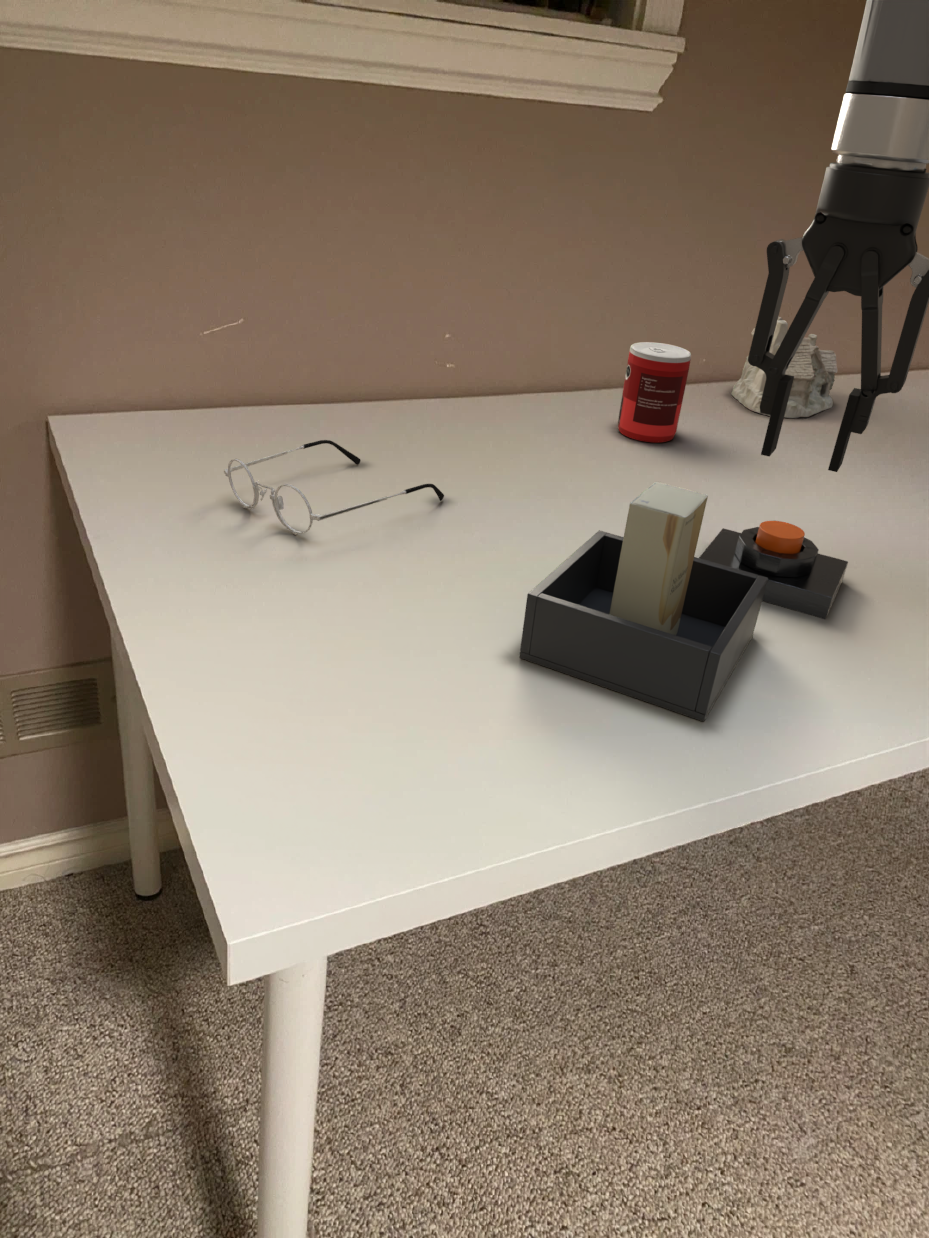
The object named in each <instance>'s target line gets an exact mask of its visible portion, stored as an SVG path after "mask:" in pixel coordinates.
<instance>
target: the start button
mask: <svg viewBox="0 0 929 1238" xmlns="http://www.w3.org/2000/svg"><path fill="white" fill-rule="evenodd" d="M758 527H759V530H758V534H757V537H756V541H755V543H756V544H757V545H759V546H761V547H762V548H764V549H766V550H770V551H774V552H778V553H785V554H795V553H799V552H800V550H801V546H802V543H803V539H804V537H805V536H806V533H805V531H804V529H802V528H801V527H799V526H797V525H795V524H792V523H789V522H785V521H781V520H765V521H762V522H761V523H759V526H758Z"/></svg>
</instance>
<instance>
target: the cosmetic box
mask: <svg viewBox="0 0 929 1238" xmlns="http://www.w3.org/2000/svg"><path fill="white" fill-rule="evenodd" d="M708 497H709V495H708V494H707V493H702V492H698V491H695V490H691V489H687V488H684V487H679V486H676V485H672V484H668V483H665V482H661V481H655V482H653V483H652V484H651V485H650V486H649V487H647V488H646V489H645V490H643V491H642V492H641V493H640V494H639V495H638V496H636V497H635V498H634V499H633V500H632V501H630V502H629V507H628V512H627V516H626V522H625V528H624V533H623V537H624V538H623V543H622V549H621V554H620V559H619V565H618V571H617V576H616V581H615V587H614V592H613V597H612V603H611V608H610V615H613V616H616V617H619V618H622V619H625V620H629V621H632V622H635V623H638V624H641V625H644V626H648V627H651V628H654V629H657V630H660V631H663V632H667V633H670V634H673V635H676V634H677V632H678V627H679V623H680V618H681V614H682V609H683V605H684V600H685V595H686V591H687V587H688V582H689V578H690V573H691V569H692V564H693V560H694V557H696V550H697V547H698V541H699V537H700V533H701V529H702V525H703V521H704V515H705V510H706V507H707V503H708Z"/></svg>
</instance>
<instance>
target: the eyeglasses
mask: <svg viewBox="0 0 929 1238" xmlns="http://www.w3.org/2000/svg"><path fill="white" fill-rule="evenodd" d="M322 444H323V445H324V444H326V445H327V444H328V445H331V446H333V447H334V448H336V450H338V451H339V452H340V453H342V454H343V455H344V456H345V457H346V458H348V459H349V460H350V461H351V462H352V463H354V464H355V465H360V463H361V458H360V457H358V456H356V455H355V454H353V453H352V452H350V451H349V450H347V449H345V448H344V447H343V446H341V445H340V444H338V443H336V442H334V441H333V440H329V439H320V440H316V441H313V442H308V443H305V444H302V445H300V446H299V447H296V448H294V449H290V450H285V451H281V452H278V453H275V454H271V455H268V456H265V457H261V458H258V459H255V460H252V461H249V462H245V463H244V462H243V460H241V459H239V458H234V459H231V460H230V461H229V463H228V465H227V468H225V469H223V474H225V476H226V477H228V481H229V485H230V487H231V490H232V492H233V495H234V496H235V498H236V499H237V500H238V501H239V503H240V504H241V505H242V508H243V509H247V510H254V509H256V508H257V506H258V504H259V500H260V502H262V501H263V500H264V497H265V495H266V493H267V490H270V494H269V499H270V500H271V505H272V507H273V510H274V512H275V515H276V517H277V519H278V520H279V521H280V523H281V524H282V526H283V527H284V528H285V529H286V530H288V531H289V532H291V533H292V534H293V535H295V536H298V535H299V534H300V535H302V534H306V533H308V532H309V531H310V530H311V529H312V526H313V524H314V523H313V522H314V521H318V522H319V521H323V520H327V519H329V518H330V519H331V518H333V517H335V516H336V517H337V516H339V515H342V514H345V513H348V512H352V511H356V510H358V509H361V508H365V507H368V506H371V505H374V504H377V503H378V504H379V503H381V502H383V501H387V500H388V499H391V498H393V497H394V498H395V497H397V496H400V495H401V496H402V495H408V494H411V493H414V492H417V491H420V490H423V489H427V488H430V489H433V492H434V493H435V494H436V496H437V498H438V500H439V501H440V502H442V501H443V499H444V498H445V494H444V493H443V492H442V491H441V490H440V489H439V488H438V487H437V486H436V485H435V484H433V483H424V484H423V483H422V484H420V485H415V486H413V487H410V488H406V489H404V490H402V491H400V492H398V493H395V494H393V495H389V496H383V497H379V498H376V499H373V500H370V501H369V500H368V501H366V502H363V503H359V504H355V505H353V506H348V507H345V508H342V509H339V510H335V511H331V512H328V513H325V514H317V513H313V509H312V506H311V505H310V502H309V500H308V499H307V497H306V496H305V494H304V493H303V491H301V490H300V489H299V488H298V487H296V486H294V485H293V484H289V483H285V484H282V485H280V486H278V487H277V488H276V490H275V488H274V487H271V486H268V485H265V484H262V483H261V482H260V481H259V480H256V481H255V479H254V476H253V474H252V472H251V471H250V469H249V467H250V466H254V465H257V464H260V463H263V462H266V461H269V460H273V459H276V458H278V457H281V456H285V455H287V454H288V453H291V452H295V451H298V450H305V449H309V448H312V447H315V446H320V445H322ZM234 461H235V462H237V463H239V464H238V465H235V466H232V464H233V462H234ZM242 469H244V470H245V471H246V473H247V476H248V477H249V479H250V482H251V485H252V489H253V502H252V504H251V505H249V504H247V503H245V502H244V501H243V500H242V498H241V497H240V496H239V494H238V492H237V490H236V488H235V486H234V481H233V477H232V472H235V471H238V470H242ZM282 487H288V488H291V489H293V490H294V491H295V492H297V493H298V494H299V495H300V496H301V498H302V499H303V501H304V503H305V505H306V508H307V509H308V513H309V514H308V515H309V524H308V528H307V529H306V530H305V531H299V530H297V529H295V528H293V526H291V525H289V523H288V522H287V521H286V520H285V518H284V516H283V515H282V513H281V510H284V508H285V507H284V498H283V496H282V495H278V494H279V491H280V489H281V488H282ZM263 488H264V490H263ZM260 490H261V491H260ZM260 496H261V498H260ZM259 498H260V499H259Z"/></svg>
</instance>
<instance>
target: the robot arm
mask: <svg viewBox="0 0 929 1238" xmlns="http://www.w3.org/2000/svg"><path fill="white" fill-rule="evenodd" d="M859 29H860V30H859V33H858V37H857V38H858V39H857V43H856V47H855V52H854V55H853V59H852V65H851V69H850V73H849V77H848V81H847V85H846V89H845V93H843V97H842V102H841V106H840V110H839V114H838V118H837V122H836V126H835V130H834V134H833V139H832V143H831V147H830V151H831V152H832V154H834V155H837V157H836V162H830V163H829V166H826V168H825V172H824V177H823V180H822V185H821V189H820V192H819V197H818V200H817V201H818V202H817V205H816V208H815V213H814V217H813V219H812V222H811V224H810V225H809V227H808V228H807V229H806V230H805V231H804V233H803V236H799V237H794V238H790V239H786V240H785V239H783V238H779V239H777V240H773V241H771V242H769V244H768V245H767V246H766V258H767V259H766V260H767V269H768V270H767V271H768V273H767V278H766V283H765V287H764V290H763V296H762V298H761V303H760V307H759V311H758V315H757V319H756V324H755V327H754V328H755V331H754V335H753V340H751V345H750V348H749V353H748V355H749V356H748V355H747V356H748V362H749V364H750V365H752V366H756V367H758V368H759V369H761V370H762V371H764V373H765V374H766V382H765V386H764V390H763V395H762V399H761V403H760V413H759V414H761V413H763V414H762V415H764V414H768V415H770V416H769V418H768V419H769V420H768V424H767V426H766V427H767V428H766V432H765V436H764V440H763V444H762V448H761V452H760V456H764V457H769V458H770V456H771V455H772V454H773V453H774V452H775V450H777V446H778V443H779V438H780V435H781V432H782V427H783V423H784V419H785V417H784V415H785V411H786V407H787V403H788V399H789V395H790V392H791V388H792V384H793V380H794V376H791V375H785V372H786V370H787V369H788V366H789V364H790V362H791V360H792V359H793V357H794V355H795V353H796V351H797V349H798V347H799V346H800V344H801V342H802V340H803V338H805V336H806V335H807V333H808V330H809V329H810V328H811V325H812V323H813V321H814V320H815V318H816V316H817V314H818V312H819V310H820V308H821V307H822V305H823V303H824V301H825V299H826V298H827V296H828V295H829V293H830V292H831V293H839V292H845V293H848V294H851V295H852V296H855V297H860V298H861V299H860V309H861V345H860V347H861V348H860V349H861V350H860V388H856V387H854V388H853V389H852V390H851V392H850V393H849V395H848V397H847V402H846V405H845V409H844V412H843V415H842V419H841V423H840V427H839V429H838V433H837V437H836V440H835V444H834V448H833V451H832V455H831V458H830V461H829V465H828V468H827V471H830V472H835V473H838V472H839V470H840V468H841V467H842V464H843V462H844V458H845V455H846V451H847V448H848V445H849V441H850V437H851V434H852V433H853V434H858V435H862V434H863V433H864V432H865V431H866V430H867V427H868V425H869V424H870V420H871V416H872V413H873V409H874V406H875V402H876V400H877V397H878V396H881V395H884V394H898V393H900V391H902V389H903V387H904V385H905V383H906V382H907V378H908V374H909V371H910V367H911V365H912V361H913V357H914V354H915V351H916V348H917V344H918V341H919V337H920V334H921V330H922V328H923V324H924V320H925V317H926V313H927V310H928V307H929V257H927V256H925V255H923V253H920V252H918V250H919V249H918V243H917V237H916V236H917V229H918V226H919V223H920V218H921V215H922V212H923V209H924V204H925V201H926V198H927V194H928V191H929V172H927V168H926V167H927V165H928V164H929V0H866V1H865V7H864V11H863V16H862V21H861V25H860V28H859ZM801 252H804V255H805V257H806V261H807V262H808V265H809V267H810V270H811V272H812V275H813V277H814V278H813V280H812V282H811V284H810V286H809V287H808V290H807V292H806V294H805V296H804V299H803V301H802V302H801V305H800V306H799V308H798V310H797V312H796V314H795V316H794V318H793V319H792V322H791V324H790V326H789V327H788V328H787V329H788V331H787V333H786V335H785V337H784V339H783V341H782V342H781V344H780V346H779V348H778V350H777V352H776V354H775V355H773V354H772V353H770V348H771V344H772V340H773V336H774V332H775V328H776V324H777V320H778V317H780V311H781V308H782V305H783V301H784V297H785V296H784V295H785V293H786V292H785V291H786V288H787V284H788V281H789V276H790V270H791V269H790V268H791V267H793V266H794V265H796V263H797V262H798V258H799V255H800V253H801ZM907 267H909V268H910V269H911V276H910V279H909V282H910V285H911V286H912V287H914V288H915V289H914V291H913V293H912V296H911V297H910V301H909V304H908V308H907V311H906V315H905V318H904V322H903V326H902V329H901V332H900V336H899V340H898V343H897V346H896V350H895V353H894V357H893V360H892V364H891V367H890V371H889V374H884V375H882V337H883V336H882V335H883V333H882V332H883V303H884V288H885V286H886V285H887V284H888V283H890V281H892V280H893V279H894V278H895V277H896V276H897V275H899V274H900V273H901V272H902V271H904V270H905V268H907Z"/></svg>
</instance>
